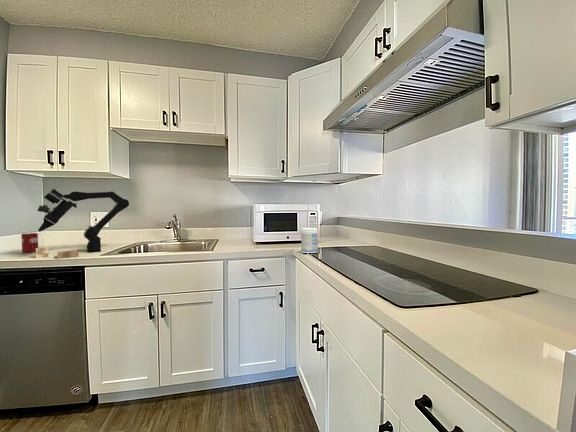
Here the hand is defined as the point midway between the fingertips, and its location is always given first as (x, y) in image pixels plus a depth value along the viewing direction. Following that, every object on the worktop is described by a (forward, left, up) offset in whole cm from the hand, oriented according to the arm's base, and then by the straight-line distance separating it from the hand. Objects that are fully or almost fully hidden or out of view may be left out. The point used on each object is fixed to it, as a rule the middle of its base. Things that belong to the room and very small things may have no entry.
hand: (39, 230), depth 154 cm
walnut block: (-12, +10, -15) cm, 22 cm away
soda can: (+5, -19, -15) cm, 25 cm away
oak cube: (-1, +1, -15) cm, 15 cm away
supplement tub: (-121, +90, -15) cm, 151 cm away
